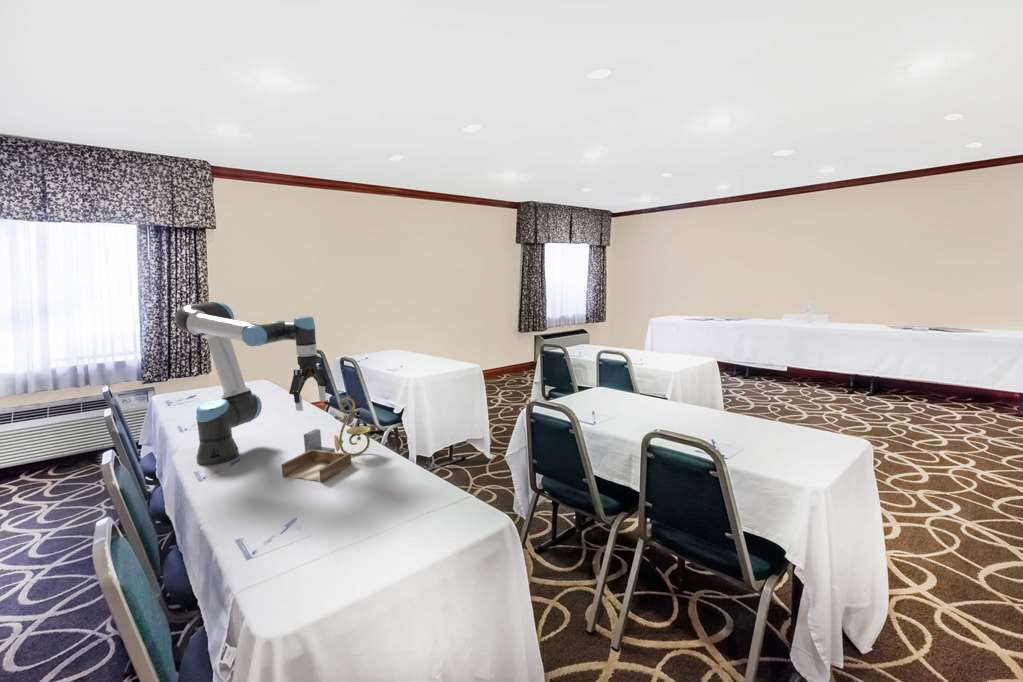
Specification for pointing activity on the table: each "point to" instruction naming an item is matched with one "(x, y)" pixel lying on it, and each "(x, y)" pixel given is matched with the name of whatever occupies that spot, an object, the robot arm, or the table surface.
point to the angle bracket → (315, 441)
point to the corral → (316, 465)
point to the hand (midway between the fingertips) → (311, 405)
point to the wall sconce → (351, 432)
